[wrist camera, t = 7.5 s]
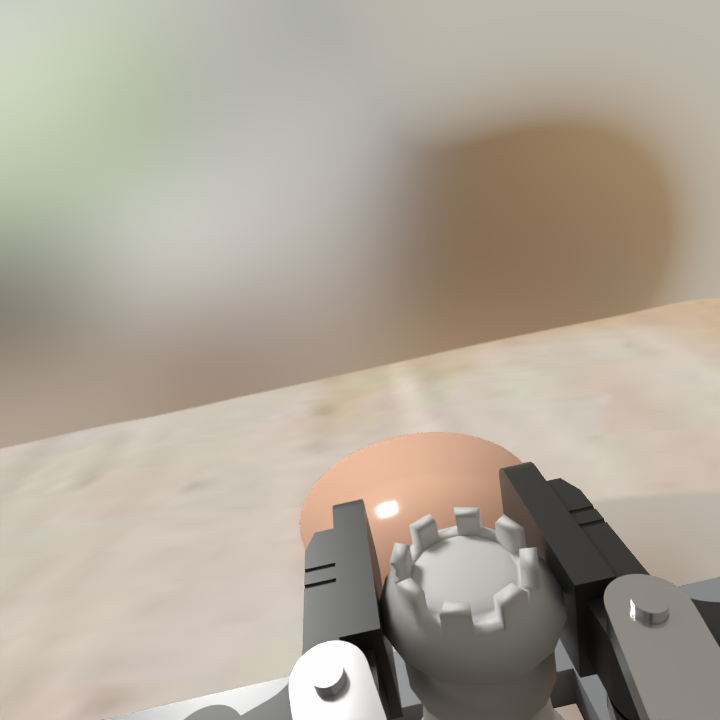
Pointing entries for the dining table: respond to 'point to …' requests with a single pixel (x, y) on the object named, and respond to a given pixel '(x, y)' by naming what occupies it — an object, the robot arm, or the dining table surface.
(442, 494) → the peach dome
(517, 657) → the rook chess piece
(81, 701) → the dining table surface
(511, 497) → the robot arm
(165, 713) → the power strip
